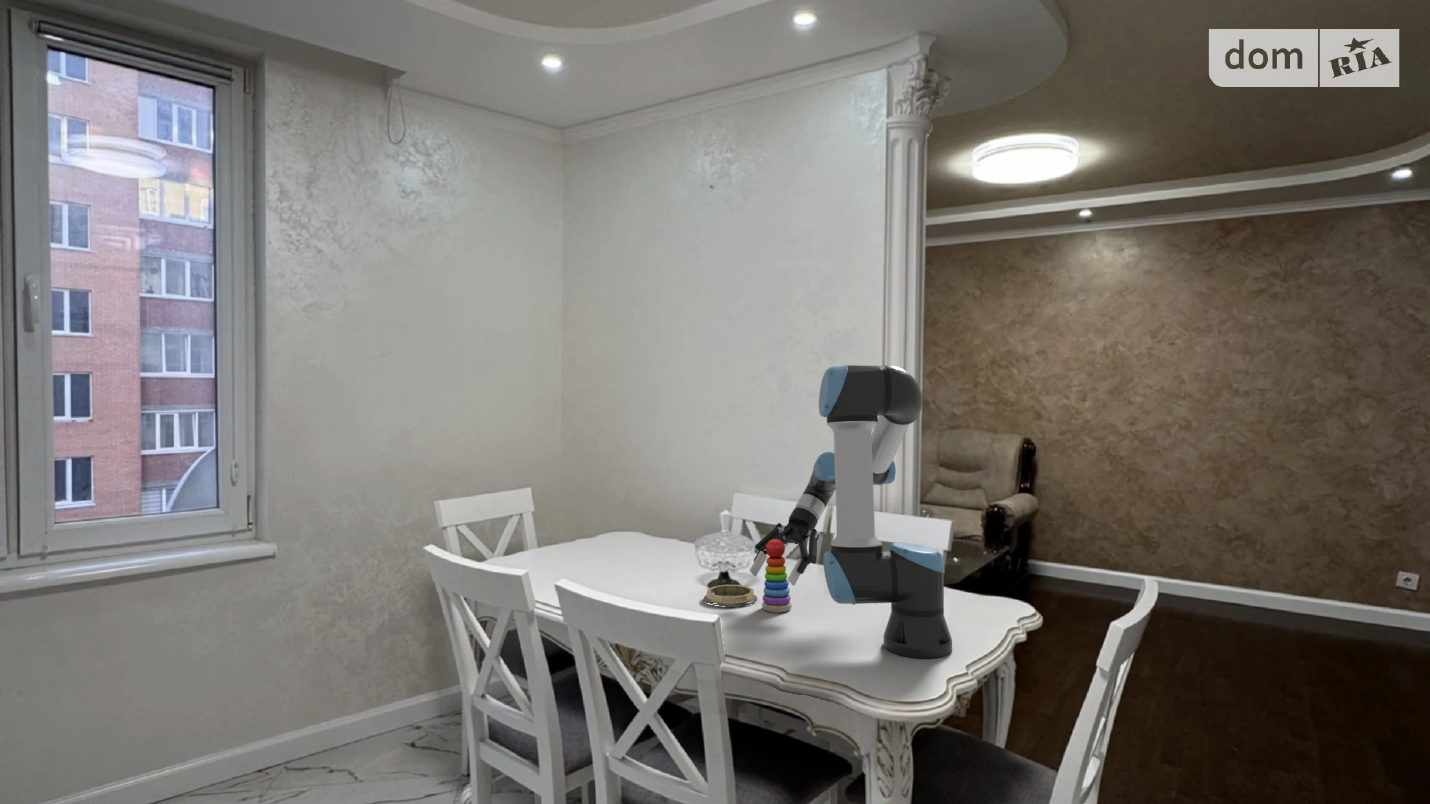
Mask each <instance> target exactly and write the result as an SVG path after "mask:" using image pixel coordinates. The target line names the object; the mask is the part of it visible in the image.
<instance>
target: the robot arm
mask: <svg viewBox="0 0 1430 804" xmlns="http://www.w3.org/2000/svg"><path fill="white" fill-rule="evenodd" d="M822 376H823V377H822V378H821V383H820V390H819V394H818V395H819V397H818V412H819V415H820V417H823V418H826V426H828V427H829V428H830V429H831V430H832V431H833V447H834V448H833V449H834V451H825V452H822V453H821V454H819V456H818V457H817V459H816V460H815V462H814V465H813V469H812V473H811V475H810V478H809V481H808V483H807V485H806V488H805V489H804V491H803V493H802V495H801V496H800V498H799V499H798V501H797V503H796V505H795V508H794V509H793V510H792V512H791V513H790V515H789V516H788V523H787V524H786V525H783V524H781V522H778V523H777V524H776V525H775V527H774V528H773V529H772V530H770V532H768V534H766V535H765V536H764V537H763V538H762V539H760V540H759V541H758V542H757V543H756V544H755V545H754V548H755V549H756V550H757V553H756V555H755V557H754V559H753V563H752V564H751V566H750V568H749V570H748V571H749V572H750V573H751V574H752V576H753V577H757V576H758V574H759V572H760V570H761V569H762V567H763V566H764V563H765V562H766V560H767V558H768V556H767V555H768V554H767V552H766V546H767V543H768V542H769V541H771V540H773V539H777V540H780V541H781V542H783V544H784V545H786V544H795V545H798V547H799V551H800V558H798V559H797V561H796V563H795V564H794V566H793V568H792V570H791V572H790V574H789V575H788V576H787V580H788V582H789V583H790V584H791V585H792V586H796V584H797V581H798V580H799V578H800V576H801V575H803V574H804V572H805V570H806V569H807V566H808V565H810V564H813V565H815V564H816V563H817V561H818V557H817V556H818V541H819V538H820V533H819V531H818V530H817V529H816V527H817V525H818V523H819V522H818V521H820V519H821V517H822V515H823V513H824V511H825V510H826V508H827V505H828V504H829V502H830V500H831V498H832V496H833V495H834V493H835V511H836V512H835V513H836V517H835V518H836V535H835V538H834V539H832V541H831V542H830V550H827V551H826V552H824V553H823V562H822V563H823V571H824V578H825V582H826V585H827V589H828V593H829V595H830V597H831V599H832V600H833V602H836V603H837V604H840V605H841V604H844V605H846V604H847V605H852V606H854V605H857V604H858V605H861V604H862V605H863V604H887V603H888V604H890V605H891V607H890V609H891V611H890V613H889V618H888V621H887V624H886V627H885V630H884V633H883V646H884V648H885V649H886V650H887V651H889V652H890V653H893V654H896V655H897V656H898V655H900V656H902V657H908V658H915V659H917V658H918V659H937V658H941V657H945V656H948V655H949V654H951V653H952V651H953V639H952V635H951V633H950V630H949V627H948V624H947V620H946V618H945V607H944V605H945V599H944V598H945V593H944V592H945V588H944V587H945V584H944V582H945V569H944V568H945V566H944V557H943V554H942V553H941V552H940V551H939V550H937V549H935V548H933V547H931V546H927V545H923V544H919V543H914V542H913V543H912V542H905V541H904V542H902V541H901V542H900V541H899V542H893V543H891V544H890V547H889V550H883V543H882V541H881V540H880V539H879V538H878V537H877V536H876V526H875V522H876V521H875V500H874V499H875V497H874V495H875V494H874V486H875V485H877V486H882V485H890V484H893V482H894V481H895V478H896V469H897V468H896V463H895V460H894V458H895V457H896V454H897V452H898V449H899V448H900V445H901V443H902V442H903V439H904V437H905V435H906V432H907V431H908V428H909V426H910V424H913V423H914V422H915V421H917V419H918V418H919V415H920V413H921V410H922V407H923V394H922V390H921V388H920V387H921V386H920V385H919V384H918V382H917V380H916V379H915V378H914V377H913V376H912V375H911V373H909V372H908V371H906V370H905V369H903V368H902V367H899V366H895V365H891V364H888V365H887V364H886V365H885V364H884V365H855V364H854V365H852V364H851V365H848V364H846V365H840V366H839V365H838V366H831V367H828V368H827V369H826V370H825V371H824V373H823V375H822ZM872 430H873V431H872ZM807 539H809V540H808V546H807V542H806V540H807ZM807 547H808V548H807Z"/></svg>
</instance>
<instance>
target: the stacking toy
mask: <svg viewBox="0 0 1430 804" xmlns="http://www.w3.org/2000/svg"><path fill="white" fill-rule="evenodd" d="M765 550H766V552H767V555H768V556H767V558H766V560H765V562H766V566H765V574H764V579H765V580H764V581H763V583H764V586H765V587H764V588H763V593H764V594H763V595H762V604H761V607H762V609H763V610H764V611H766V612H768V613H786V612H788V611H790V610H792V606H793V605H792V602H791V596H790V592H791V591H790V588H789V586H790V585H789V583H790V582H789V580H788V573H787V572H786V570H787V567H786V565H785V564H786V558H785V557H784V556H783V555H784V554H785V552H786V551H785V550H786V548H785V544H783V542H781V541H780V540H777V539H773V540H771V541H769V542H768V543H767V546H766V549H765Z"/></svg>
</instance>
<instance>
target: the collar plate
mask: <svg viewBox="0 0 1430 804" xmlns="http://www.w3.org/2000/svg"><path fill="white" fill-rule="evenodd" d="M754 591H755V589H753V588H751V587H750V586H747V585H740V584H722V585H715V586H712V587H709V588H707V591H706V595H704V597H703V602H704V601H705V602H706V603H710V604H713V603H717V604H713V605H719V606H725V607H740V608H744V607H743V606H746V605H750V604H753V603H755V602H756V601H757V602H758V596H757V595H755V592H754ZM705 602H704V603H705ZM757 602H756V603H757ZM706 603H705V604H706ZM756 603H755V604H756ZM753 605H754V604H753ZM750 606H751V605H750ZM746 607H747V606H746Z"/></svg>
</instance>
